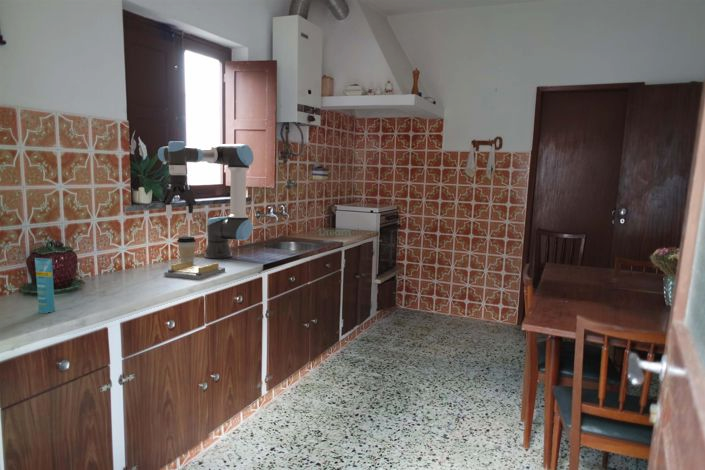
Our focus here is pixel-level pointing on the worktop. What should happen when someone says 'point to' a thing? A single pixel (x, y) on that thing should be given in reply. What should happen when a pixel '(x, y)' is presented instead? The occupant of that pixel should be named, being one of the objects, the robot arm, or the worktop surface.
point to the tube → (45, 285)
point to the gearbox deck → (193, 270)
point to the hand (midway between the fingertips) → (179, 219)
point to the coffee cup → (186, 248)
